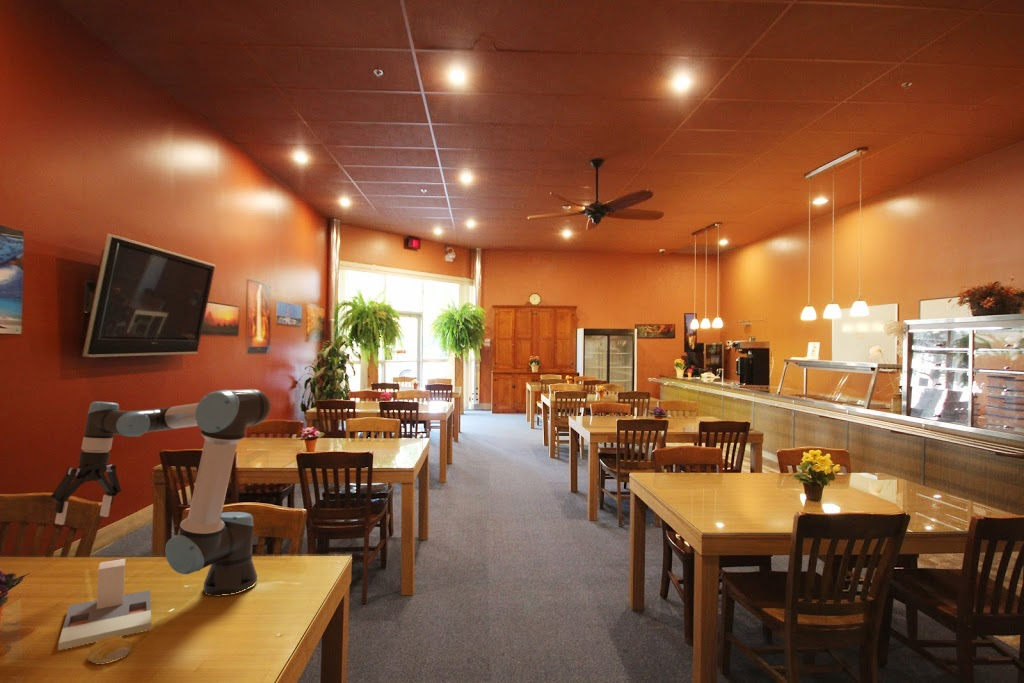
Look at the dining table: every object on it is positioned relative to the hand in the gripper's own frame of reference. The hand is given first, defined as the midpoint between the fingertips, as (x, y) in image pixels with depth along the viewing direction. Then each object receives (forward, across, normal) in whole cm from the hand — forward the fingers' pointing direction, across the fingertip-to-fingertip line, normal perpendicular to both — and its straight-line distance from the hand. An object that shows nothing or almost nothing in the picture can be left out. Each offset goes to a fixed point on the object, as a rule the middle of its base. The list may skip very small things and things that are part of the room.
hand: (82, 520), depth 165 cm
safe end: (+22, +14, +34) cm, 43 cm away
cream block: (+19, +4, +22) cm, 29 cm away
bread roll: (+22, +22, +44) cm, 54 cm away
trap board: (+21, +7, +25) cm, 33 cm away
